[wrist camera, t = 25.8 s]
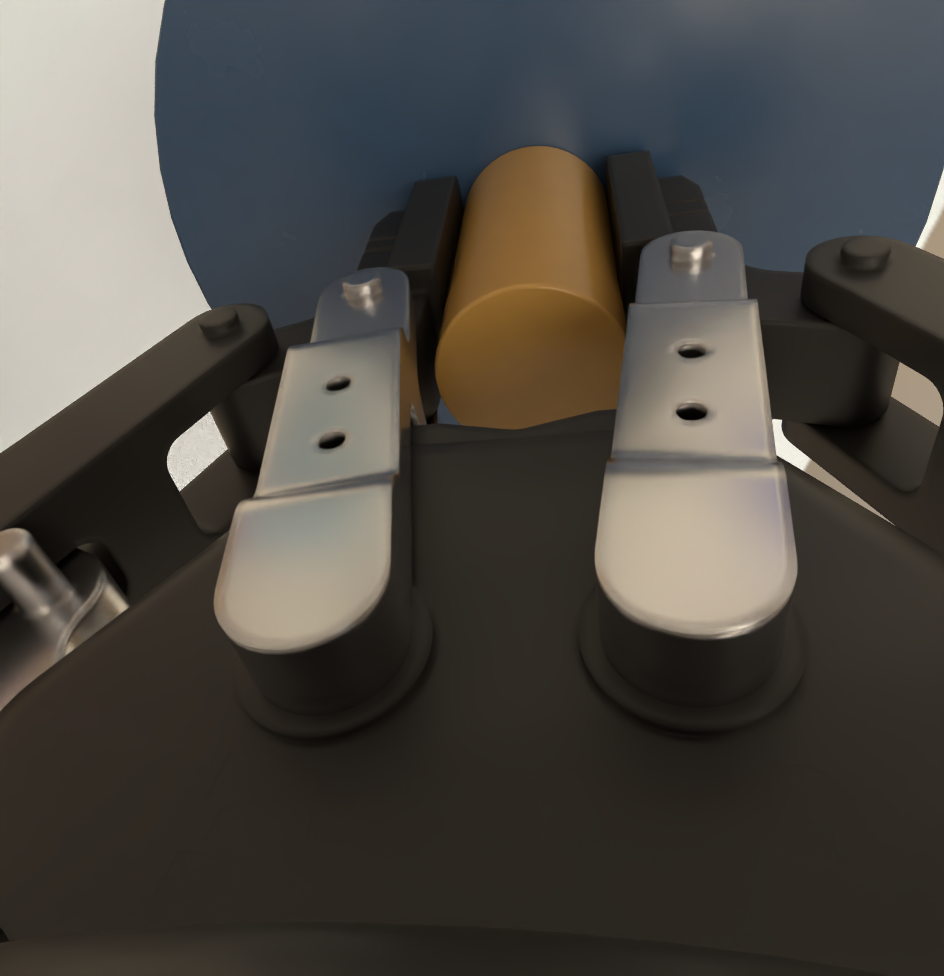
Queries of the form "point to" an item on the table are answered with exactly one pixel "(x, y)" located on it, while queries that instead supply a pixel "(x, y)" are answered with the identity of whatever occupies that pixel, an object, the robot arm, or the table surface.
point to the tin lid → (534, 154)
